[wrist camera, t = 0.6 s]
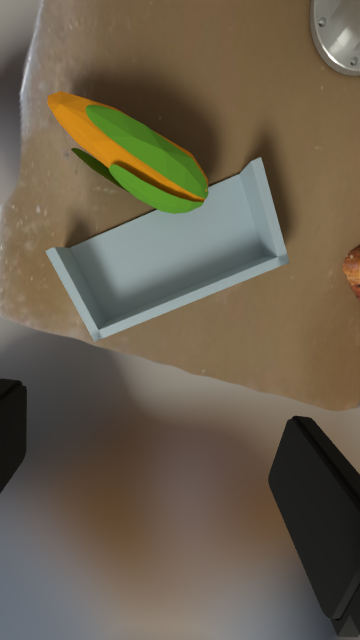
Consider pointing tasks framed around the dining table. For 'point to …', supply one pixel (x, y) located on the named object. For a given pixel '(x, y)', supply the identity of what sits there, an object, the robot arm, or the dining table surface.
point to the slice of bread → (353, 270)
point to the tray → (173, 255)
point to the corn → (132, 154)
